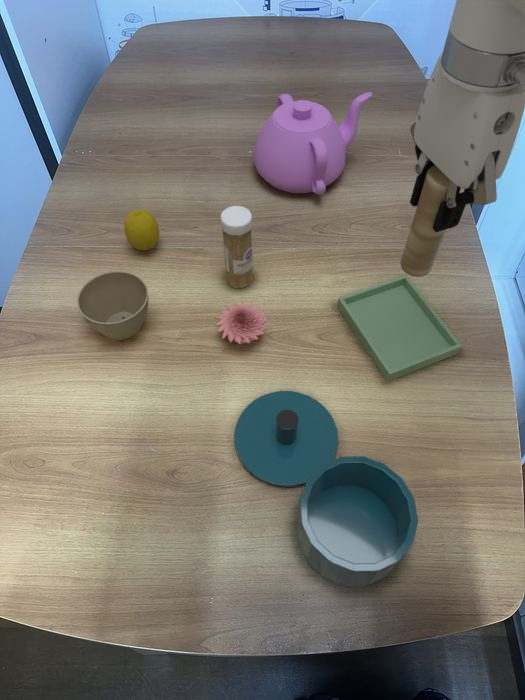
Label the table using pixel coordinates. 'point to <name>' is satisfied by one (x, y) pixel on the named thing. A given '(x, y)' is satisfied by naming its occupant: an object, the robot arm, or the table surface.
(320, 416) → the pot lid
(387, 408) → the table surface
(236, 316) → the flower
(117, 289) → the bowl
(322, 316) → the table surface
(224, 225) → the sprinkles bottle
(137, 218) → the lemon
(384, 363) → the tray
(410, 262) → the stick
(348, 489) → the pot
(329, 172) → the teapot
